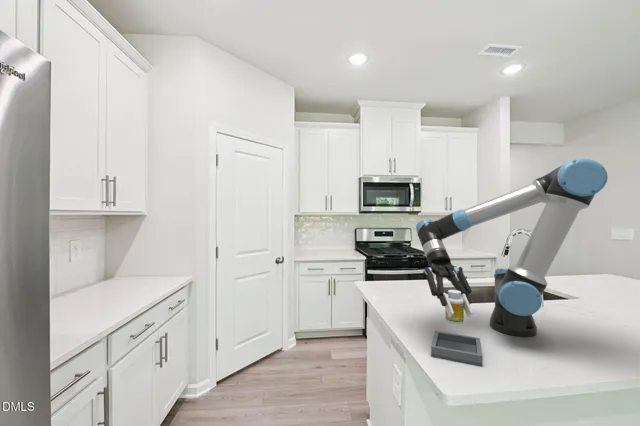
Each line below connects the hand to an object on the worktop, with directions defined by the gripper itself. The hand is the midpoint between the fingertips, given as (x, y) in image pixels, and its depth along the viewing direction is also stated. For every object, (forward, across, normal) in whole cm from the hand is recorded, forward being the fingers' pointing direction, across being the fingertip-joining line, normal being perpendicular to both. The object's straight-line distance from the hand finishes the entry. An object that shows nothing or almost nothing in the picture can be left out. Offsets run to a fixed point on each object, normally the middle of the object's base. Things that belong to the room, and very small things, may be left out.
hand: (460, 314), depth 91 cm
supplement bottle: (0, 0, -5) cm, 5 cm away
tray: (+7, 0, -12) cm, 13 cm away
